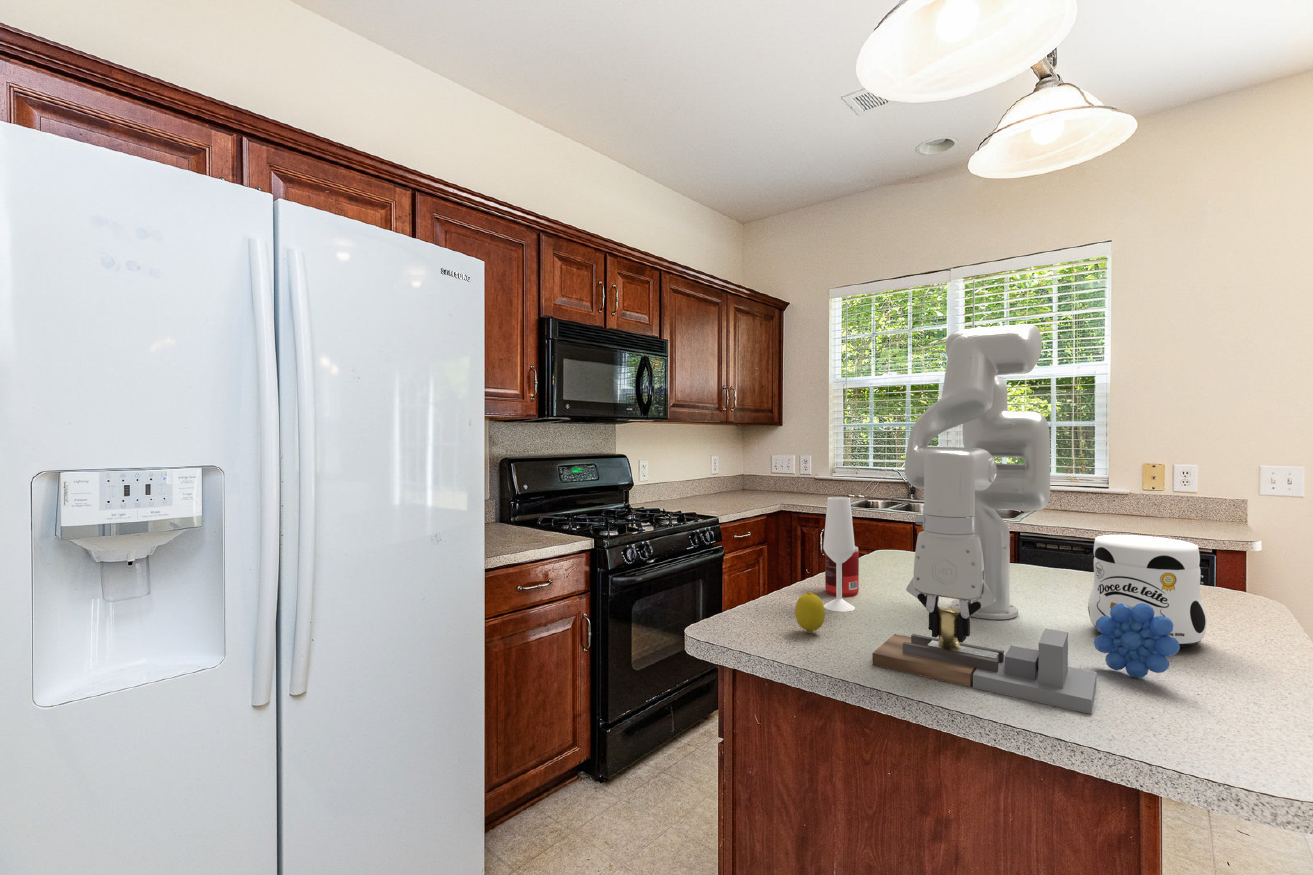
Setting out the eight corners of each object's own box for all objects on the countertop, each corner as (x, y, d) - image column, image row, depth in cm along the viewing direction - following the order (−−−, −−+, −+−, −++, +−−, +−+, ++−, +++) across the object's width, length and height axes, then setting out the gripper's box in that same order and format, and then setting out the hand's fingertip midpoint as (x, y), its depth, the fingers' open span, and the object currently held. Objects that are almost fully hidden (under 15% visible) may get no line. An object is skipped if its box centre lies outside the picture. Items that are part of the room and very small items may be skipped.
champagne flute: (825, 601, 142) (824, 496, 141) (856, 604, 139) (855, 497, 139) (821, 609, 136) (821, 499, 135) (854, 613, 133) (853, 500, 133)
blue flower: (1193, 685, 95) (1194, 606, 95) (1170, 694, 92) (1170, 613, 92) (1109, 660, 105) (1109, 589, 105) (1085, 667, 102) (1086, 594, 102)
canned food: (859, 589, 152) (859, 544, 152) (858, 598, 144) (858, 551, 144) (826, 587, 154) (826, 543, 154) (824, 595, 147) (824, 549, 147)
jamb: (987, 663, 104) (988, 615, 104) (1096, 685, 95) (1096, 633, 95) (972, 687, 95) (972, 635, 95) (1091, 714, 86) (1091, 656, 86)
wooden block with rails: (894, 644, 114) (894, 625, 114) (1007, 667, 103) (1007, 645, 103) (872, 665, 104) (872, 643, 104) (993, 692, 93) (993, 668, 93)
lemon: (825, 638, 117) (825, 596, 117) (795, 637, 118) (795, 595, 118) (823, 629, 123) (823, 588, 122) (795, 627, 124) (794, 587, 124)
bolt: (932, 648, 105) (932, 605, 105) (999, 662, 99) (999, 615, 99) (927, 654, 103) (927, 609, 103) (995, 668, 97) (995, 620, 97)
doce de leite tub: (1104, 648, 111) (1105, 547, 111) (1076, 620, 127) (1076, 531, 127) (1226, 660, 105) (1227, 553, 105) (1181, 628, 121) (1181, 536, 121)
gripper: (890, 524, 104) (890, 633, 104) (1001, 533, 94) (1001, 655, 94) (904, 518, 110) (904, 622, 110) (1010, 527, 100) (1010, 641, 100)
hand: (949, 636), depth 102 cm, fingers closed on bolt, 3 cm apart
